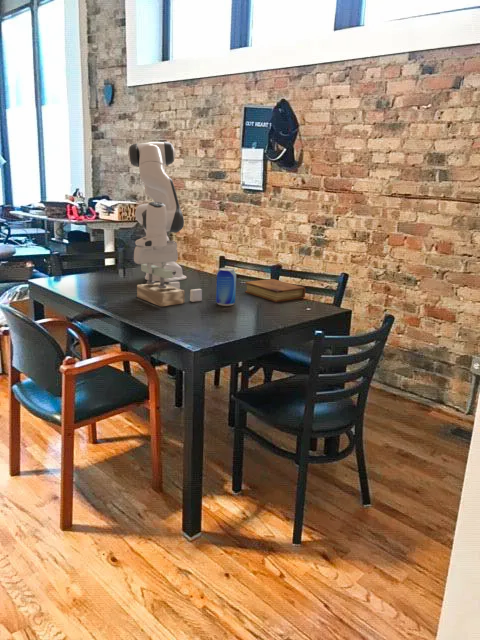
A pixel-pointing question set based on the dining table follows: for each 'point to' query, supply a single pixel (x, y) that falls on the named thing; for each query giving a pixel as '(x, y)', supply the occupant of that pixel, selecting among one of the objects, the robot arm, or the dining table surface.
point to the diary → (275, 290)
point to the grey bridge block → (157, 274)
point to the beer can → (226, 287)
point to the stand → (194, 293)
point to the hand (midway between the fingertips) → (156, 272)
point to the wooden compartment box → (160, 294)
